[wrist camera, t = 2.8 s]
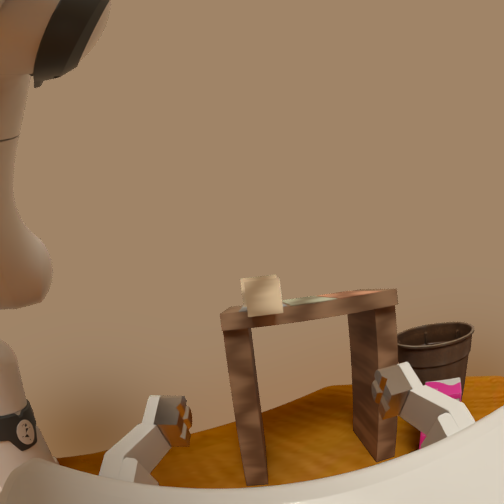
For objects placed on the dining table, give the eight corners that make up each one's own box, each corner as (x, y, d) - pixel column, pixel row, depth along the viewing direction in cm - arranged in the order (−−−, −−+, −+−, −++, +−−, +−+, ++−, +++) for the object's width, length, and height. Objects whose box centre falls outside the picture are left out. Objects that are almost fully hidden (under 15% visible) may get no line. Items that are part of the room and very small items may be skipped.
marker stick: (236, 318, 24) (230, 271, 25) (244, 305, 45) (242, 279, 46) (295, 311, 24) (289, 264, 25) (276, 301, 45) (273, 276, 46)
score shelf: (246, 489, 30) (219, 313, 33) (248, 444, 44) (230, 306, 47) (396, 459, 30) (396, 287, 33) (366, 424, 44) (359, 289, 47)
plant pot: (454, 435, 30) (462, 343, 32) (376, 424, 43) (375, 344, 45) (477, 394, 39) (480, 319, 41) (413, 391, 52) (413, 324, 54)
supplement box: (420, 442, 32) (425, 380, 33) (454, 440, 29) (462, 376, 30) (415, 462, 27) (422, 396, 29) (453, 460, 24) (464, 392, 25)
